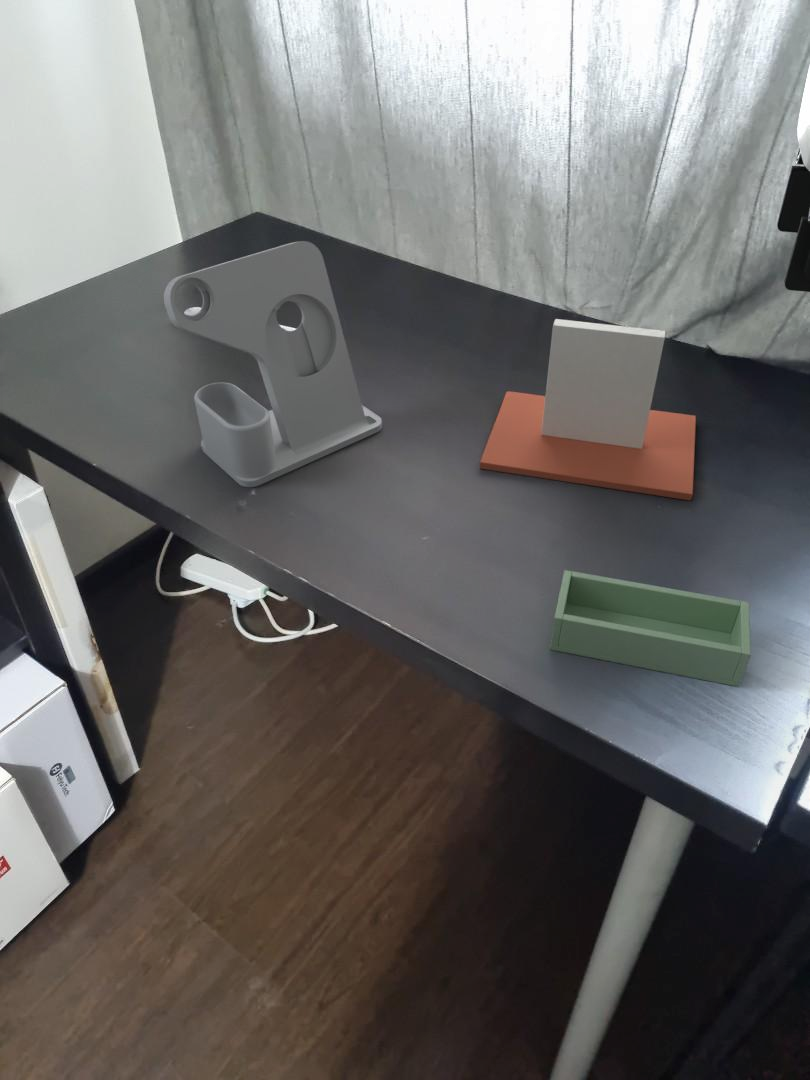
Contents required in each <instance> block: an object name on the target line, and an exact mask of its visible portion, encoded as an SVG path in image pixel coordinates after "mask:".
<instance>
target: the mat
mask: <svg viewBox="0 0 810 1080" xmlns="http://www.w3.org/2000/svg"><path fill="white" fill-rule="evenodd" d="M544 404H545V395H539V394H532V393H524V392H516V391H506V392H505V395H504V398H503V400H502V403H501V406H500V408H499V411H498V414H497V416H496V419H495V422H494V423H493V427H492V428H491V431H490V435H489V437H488V440H487V443H486V445H485V448H484V450H483V453H482V456H481V458H480V461H479V469H480V470H485V471H486V470H488V471H495V472H499V473H507V474H513V475H520V476H525V477H532V478H539V479H540V478H541V479H546V480H552V481H560V482H566V483H571V484H572V483H573V484H577V485H578V484H579V485H585V486H592V487H599V488H604V489H611V490H619V491H624V492H632V493H637V494H644V495H645V494H646V495H650V496H657V497H665V498H671V499H676V500H677V499H678V500H684V501H690V502H691V501H692V499H693V495H694V479H695V478H694V477H695V475H694V474H695V452H696V450H695V449H696V427H697V416H696V415H692V414H685V413H676V412H671V411H670V412H669V411H663V410H662V411H661V410H654V409H650V413H649V418H648V423H647V427H646V432H645V437H644V442H643V447H642V449H638V448H631V447H624V446H617V445H610V444H603V443H596V442H589V441H582V440H575V439H567V438H560V437H553V436H546V435H541V432H542V423H543V414H544Z"/></svg>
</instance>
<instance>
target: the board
mask: <svg viewBox="0 0 810 1080" xmlns="http://www.w3.org/2000/svg"><path fill="white" fill-rule="evenodd" d="M665 339H666V330H661V329H651V328H642V327H633V326H622V325H616V324H606V323H598V322H597V323H596V322H589V321H588V322H587V321H580V320H579V321H577V320H571V319H570V320H569V319H560V318H555V319H554V321H553V325H552V331H551V342H550V350H549V359H548V369H547V377H546V378H547V379H546V387H545V395H544V396H545V404H544V414H543V423H542V432H541V435H546V436H553V437H560V438H567V439H575V440H582V441H589V442H596V443H603V444H610V445H617V446H624V447H631V448H638V449H642V447H643V442H644V437H645V432H646V427H647V423H648V418H649V413H650V410H651V407H652V402H653V398H654V394H655V393H654V392H655V388H656V383H657V378H658V373H659V369H660V364H661V358H662V355H663V354H662V353H663V348H664V343H665Z"/></svg>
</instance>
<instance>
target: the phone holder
mask: <svg viewBox="0 0 810 1080" xmlns="http://www.w3.org/2000/svg"><path fill="white" fill-rule="evenodd" d="M187 284H189V285H192V286H194V287H196V289H198V290H199V292H200V294H201V296H202V297H201V298H202V306H201V307H200V308H201V310H200V311H199V312H198V313H197V314H195V315H192V316H188V315H185V314H184V312H182V311H181V310H180V309H179V307H178V306H177V303H176V294H177V291H178V290H179V289H180V288H181V287H182V286H183V285H187ZM286 302H292V303H294V304H296V305H297V306H298V308H299V309H300V312H301V321H300V324H299V325H298V327H296V330H294V331H286V330H285V329H284V328H281V327H280V325H281V324H280V323H279V321H278V319H277V314H278V310H280V308H281V307H282V305H284V303H286ZM163 303H164V307H165V310H166V313H167V315H168V319H169V320H170V322H171V324H172V325H173V326H174V327H175V328H176V329H178V330H180V331H182V332H185V333H188V334H191V335H193V336H197V337H200V338H202V339H205V340H208V341H211V342H214V343H217V344H220V345H222V346H225V347H229V348H231V349H234V350H237V351H240V352H243V353H246V354H249V355H250V356H252V357H253V358H254V359H255V360H256V362H257V364H258V368H259V371H260V374H261V377H262V380H263V384H264V387H265V390H266V393H267V396H268V400H269V403H270V407H271V409H270V410H268V409H267V408H265V406H263V405H261V403H259V402H258V401H256V400H255V399H254V398H252V397H251V396H250V395H249V394H247V393H246V392H245V391H244V390H242V389H241V388H239V386H237V385H235V384H233V383H229V382H213V383H209V384H206V385H203V386H202V387H200V388H199V389H198V390H197V391H196V392H195V394H194V397H193V399H194V400H193V401H194V404H195V409H196V414H197V419H198V425H199V428H200V429H199V430H200V433H201V438H202V439H201V441H200V446H201V450H202V452H203V454H205V455H206V456H207V457H208V458H209V459H211V460H212V462H214V463H215V464H216V465H217V466H218V467H219V468H221V469H222V470H223V471H224V472H225V473H226V474H227V475H228V476H229V477H230V478H231V479H232V480H234V482H236V483H237V484H238V485H240V486H241V487H244V488H255V487H258V486H261V485H263V484H265V483H268V482H271V481H272V480H274V479H276V478H280V477H281V476H283V475H285V474H287V473H290V472H292V471H295V470H297V469H299V468H301V467H303V466H306V465H308V464H310V463H313V462H315V461H317V460H319V459H321V458H324V457H325V456H328V455H331V454H332V453H334V452H337V451H339V450H341V449H344V448H346V447H348V446H350V445H352V444H354V443H357V442H358V441H361V440H363V439H366V438H368V437H370V436H372V435H374V434H377V433H378V432H380V431H381V430H382V428H383V421H382V417H380V416H379V415H377V414H376V413H374V412H373V411H372V410H371V409H369V408H367V407H366V406H364V405H363V403H362V400H361V395H360V393H359V388H358V386H357V381H356V377H355V373H354V370H353V366H352V361H351V358H350V354H349V350H348V346H347V342H346V339H345V335H344V332H343V328H342V324H341V320H340V316H339V313H338V309H337V305H336V301H335V298H334V294H333V290H332V286H331V284H330V278H329V275H328V271H327V267H326V264H325V260H324V256H323V253H322V252H321V250H320V249H319V247H317V246H316V245H315V244H314V243H312V242H311V241H307V240H300V241H293V242H289V243H285V244H282V245H279V246H276V247H273V248H269V249H266V250H262V251H259V252H256V253H252V254H249V255H245V256H242V257H238V258H235V259H232V260H229V261H225V262H222V263H219V264H215V265H212V266H209V267H205V268H202V269H199V270H196V271H192V272H189V273H185V274H182V275H179V276H176V277H174V278H173V279H171V280H170V281H169V282H168V283H167V285H166V287H165V289H164V292H163Z"/></svg>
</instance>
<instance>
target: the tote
mask: <svg viewBox="0 0 810 1080" xmlns="http://www.w3.org/2000/svg"><path fill="white" fill-rule="evenodd" d="M562 574H563V575H562V580H561V584H560V589H559V594H558V598H557V602H556V609H555V612H554V616H553V624H552V630H551V638H550V646H549V650H551V651H555V652H561V653H565V654H570V655H575V656H580V657H585V658H591V659H596V660H601V661H605V662H610V663H611V662H612V663H616V664H621V665H626V666H631V667H637V668H641V669H645V670H651V671H657V672H661V673H665V674H671V675H676V676H681V677H687V678H692V679H697V680H702V681H707V682H712V683H716V684H723V685H727V686H731V687H732V686H733V687H736V688H737V687H738V688H739V687H740V684H741V682H742V680H743V676H744V675H745V672H746V670H747V669H746V668H747V666H748V664H749V661H750V658H751V656H752V650H751V646H752V645H751V625H750V624H751V620H750V619H751V618H750V602H749V601H743V600H738V599H731V598H726V597H721V596H715V595H709V594H705V593H704V594H703V593H697V592H692V591H687V590H682V589H681V590H680V589H675V588H670V587H664V586H657V585H653V584H646V583H641V582H636V581H630V580H626V579H625V580H624V579H618V578H612V577H606V576H601V575H595V574H591V573H584V572H579V571H573V570H567V569H564V570H563V573H562Z"/></svg>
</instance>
